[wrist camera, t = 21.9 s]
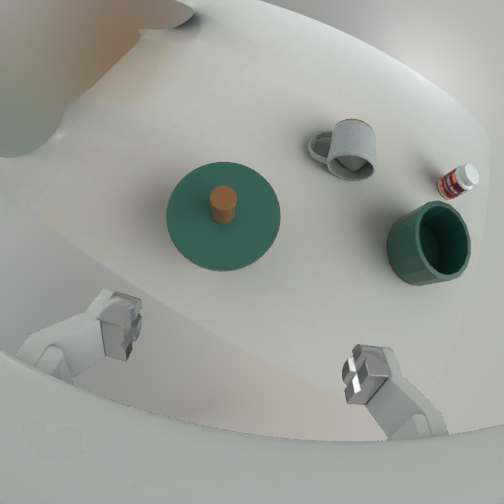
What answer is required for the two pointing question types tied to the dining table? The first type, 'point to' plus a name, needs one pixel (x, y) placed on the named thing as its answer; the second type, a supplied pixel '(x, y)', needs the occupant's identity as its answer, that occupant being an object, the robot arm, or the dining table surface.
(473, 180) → the pill bottle
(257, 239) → the tin lid
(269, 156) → the dining table surface
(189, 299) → the dining table surface
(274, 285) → the dining table surface
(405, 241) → the tin
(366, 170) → the ceramic mug
